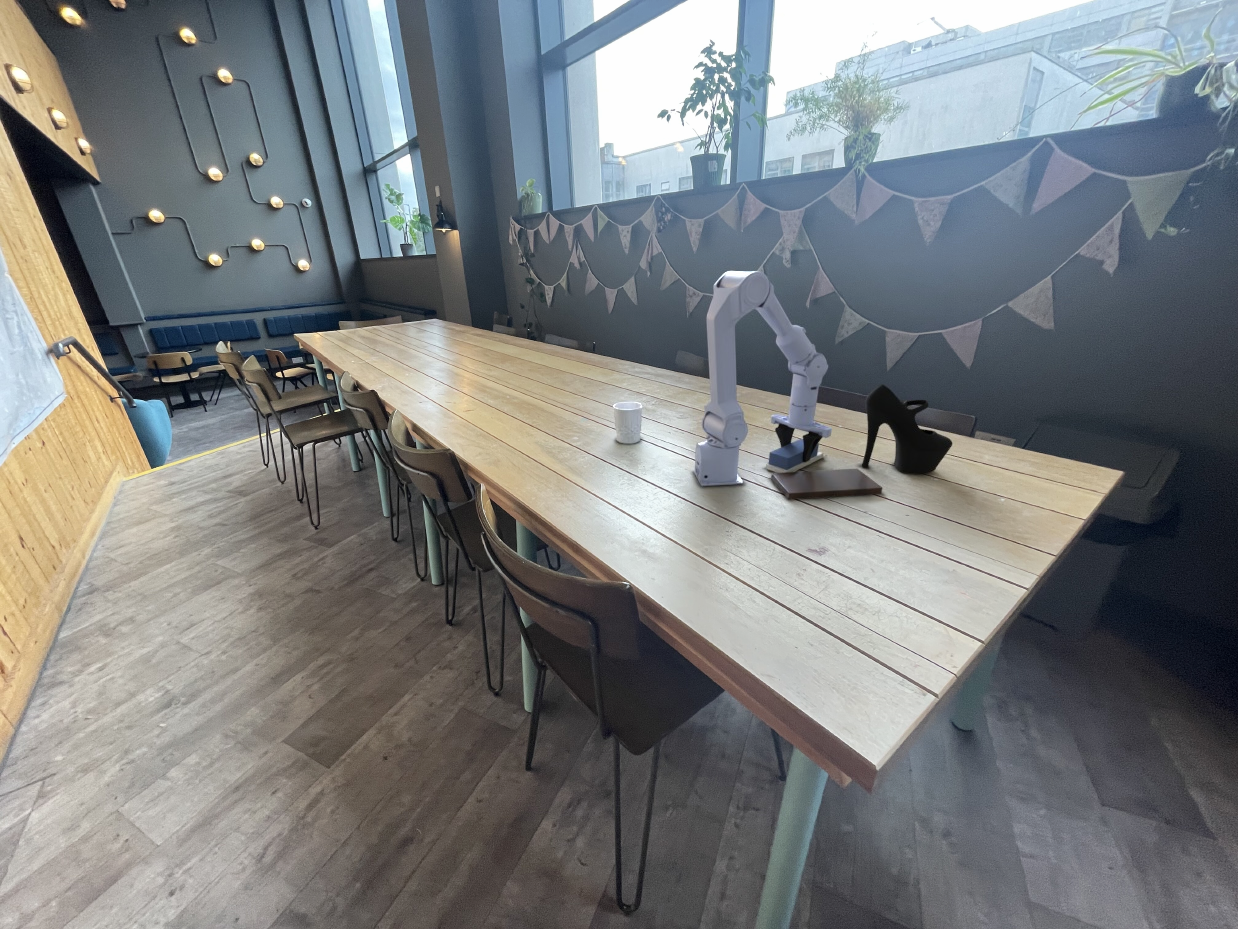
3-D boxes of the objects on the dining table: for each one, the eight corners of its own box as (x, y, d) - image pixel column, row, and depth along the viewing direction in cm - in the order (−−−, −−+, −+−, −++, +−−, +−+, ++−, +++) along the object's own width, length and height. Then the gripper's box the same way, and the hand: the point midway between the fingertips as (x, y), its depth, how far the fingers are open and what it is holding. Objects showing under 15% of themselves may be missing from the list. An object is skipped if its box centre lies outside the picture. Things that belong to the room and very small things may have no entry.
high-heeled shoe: (949, 477, 105) (974, 389, 97) (857, 472, 108) (874, 388, 100) (935, 463, 112) (957, 380, 104) (849, 459, 115) (864, 379, 107)
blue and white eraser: (785, 475, 108) (788, 459, 106) (765, 468, 112) (767, 452, 110) (822, 457, 117) (825, 441, 115) (802, 451, 121) (805, 436, 119)
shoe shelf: (788, 499, 98) (789, 493, 97) (770, 479, 107) (771, 473, 106) (881, 494, 98) (882, 487, 98) (856, 474, 108) (857, 468, 107)
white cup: (642, 444, 129) (642, 409, 125) (614, 445, 129) (612, 410, 125) (642, 434, 136) (641, 401, 132) (615, 435, 136) (613, 401, 132)
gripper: (842, 406, 105) (832, 461, 111) (785, 394, 116) (779, 445, 121) (825, 413, 101) (816, 470, 107) (768, 400, 112) (762, 452, 117)
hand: (795, 457), depth 114 cm, fingers closed on blue and white eraser, 5 cm apart
